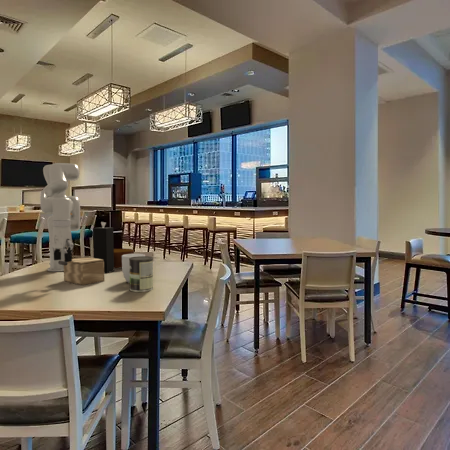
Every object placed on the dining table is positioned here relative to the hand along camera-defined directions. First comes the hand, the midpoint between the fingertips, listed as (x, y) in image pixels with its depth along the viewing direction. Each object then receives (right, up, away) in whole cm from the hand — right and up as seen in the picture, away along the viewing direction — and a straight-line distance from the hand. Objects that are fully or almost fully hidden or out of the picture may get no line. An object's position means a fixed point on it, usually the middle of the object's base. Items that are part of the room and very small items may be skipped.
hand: (62, 260), depth 166 cm
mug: (+32, -11, +9) cm, 35 cm away
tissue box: (+8, -10, +33) cm, 35 cm away
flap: (+5, -2, +7) cm, 8 cm away
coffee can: (+38, -12, -8) cm, 41 cm away
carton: (+6, -11, +9) cm, 16 cm away
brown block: (+12, -9, +49) cm, 51 cm away
